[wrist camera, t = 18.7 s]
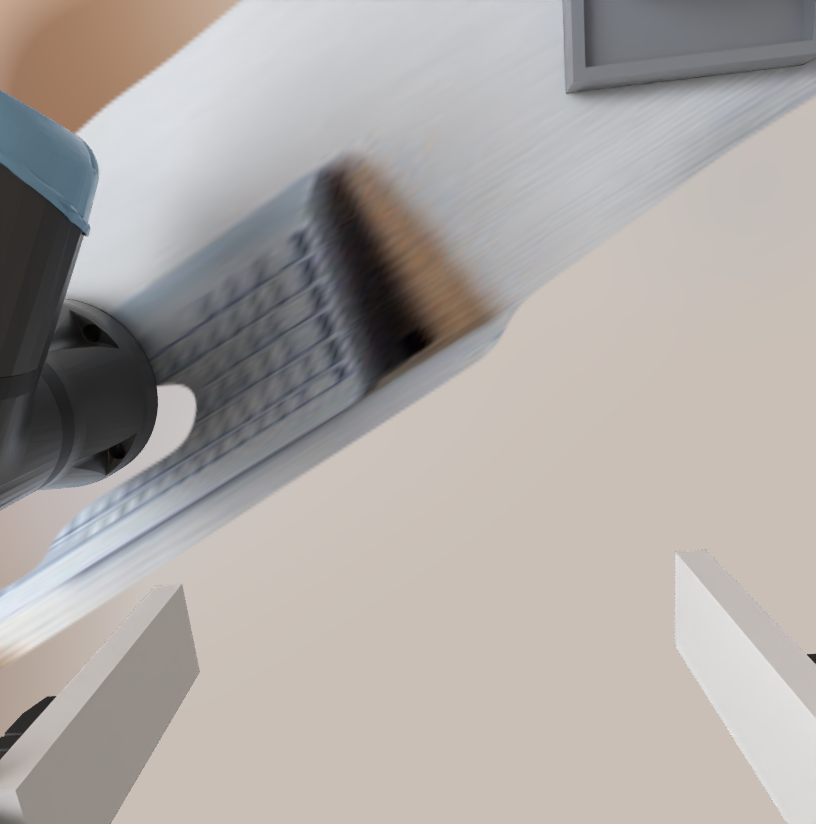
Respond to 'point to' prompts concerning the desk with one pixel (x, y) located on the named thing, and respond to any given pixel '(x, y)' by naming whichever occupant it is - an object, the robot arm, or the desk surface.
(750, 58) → the dock tray
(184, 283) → the desk surface
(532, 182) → the desk surface
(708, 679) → the robot arm
